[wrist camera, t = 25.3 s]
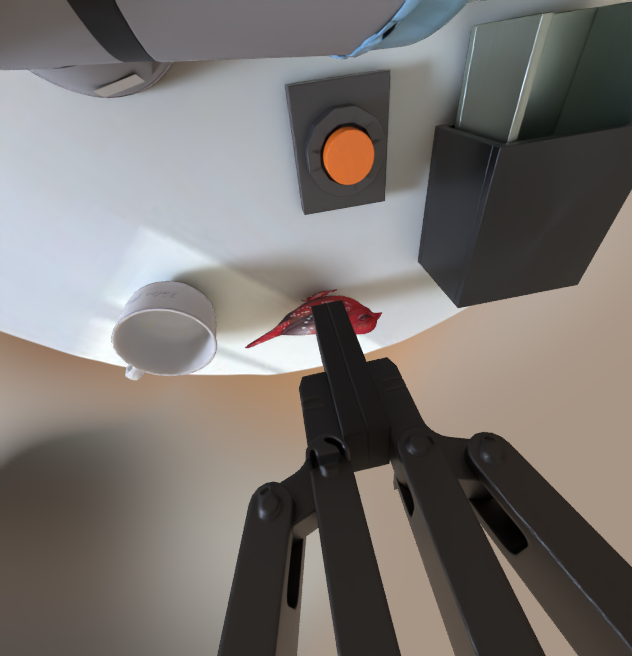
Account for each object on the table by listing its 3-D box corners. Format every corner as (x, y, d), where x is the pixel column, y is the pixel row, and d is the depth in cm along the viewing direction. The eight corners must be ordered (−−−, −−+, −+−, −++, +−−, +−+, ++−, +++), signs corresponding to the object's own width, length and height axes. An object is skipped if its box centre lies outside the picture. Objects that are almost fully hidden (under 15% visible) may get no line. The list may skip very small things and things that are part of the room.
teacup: (176, 253, 35) (161, 291, 29) (237, 311, 42) (235, 352, 36) (95, 311, 38) (67, 356, 33) (164, 356, 45) (151, 400, 39)
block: (284, 84, 27) (289, 87, 24) (382, 69, 27) (398, 70, 24) (301, 208, 34) (306, 221, 31) (378, 194, 35) (390, 206, 32)
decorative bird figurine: (365, 286, 43) (389, 333, 36) (249, 325, 44) (249, 378, 37) (362, 270, 41) (387, 315, 34) (241, 310, 42) (239, 363, 35)
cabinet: (435, 126, 31) (500, 147, 23) (565, 104, 32) (672, 118, 24) (417, 261, 42) (457, 308, 34) (515, 243, 42) (577, 284, 34)
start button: (320, 130, 27) (324, 133, 25) (369, 122, 27) (375, 125, 25) (325, 183, 29) (328, 188, 28) (368, 175, 30) (374, 181, 28)
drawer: (488, -156, 20) (607, -266, 13) (670, -177, 20) (872, -293, 14) (437, 178, 34) (483, 205, 27) (548, 159, 34) (619, 181, 28)
